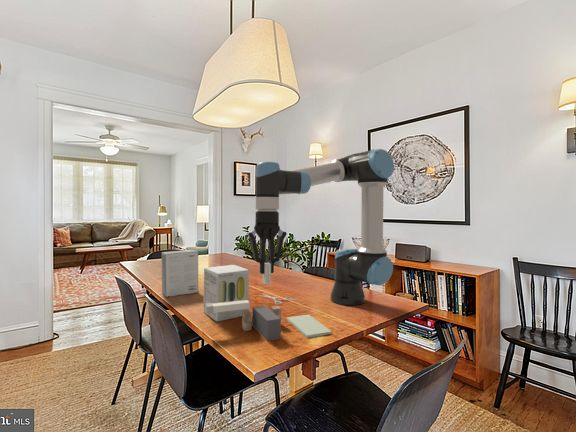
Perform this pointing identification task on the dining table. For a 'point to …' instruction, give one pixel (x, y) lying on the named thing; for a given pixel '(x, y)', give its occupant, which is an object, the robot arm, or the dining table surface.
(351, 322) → the dining table surface
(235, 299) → the supplement box
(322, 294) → the dining table surface
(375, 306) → the dining table surface
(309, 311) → the dining table surface
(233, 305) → the strap
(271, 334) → the dark gray rectangular block
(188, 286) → the hard drive box
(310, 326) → the mat
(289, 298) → the scissors
